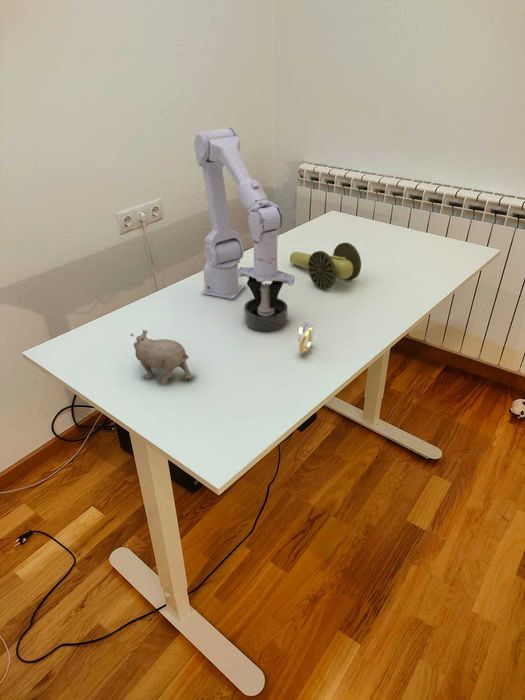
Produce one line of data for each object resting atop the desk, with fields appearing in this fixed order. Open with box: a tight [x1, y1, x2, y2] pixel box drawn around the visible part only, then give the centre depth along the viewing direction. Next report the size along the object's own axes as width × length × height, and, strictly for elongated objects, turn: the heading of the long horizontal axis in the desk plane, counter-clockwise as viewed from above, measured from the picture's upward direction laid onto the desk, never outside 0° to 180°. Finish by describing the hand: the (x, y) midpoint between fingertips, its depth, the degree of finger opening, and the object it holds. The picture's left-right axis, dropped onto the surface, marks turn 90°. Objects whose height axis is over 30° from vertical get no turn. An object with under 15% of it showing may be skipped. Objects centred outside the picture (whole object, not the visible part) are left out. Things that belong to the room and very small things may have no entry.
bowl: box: [243, 297, 289, 332], centre depth 131 cm, size 11×11×4 cm
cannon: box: [289, 242, 362, 291], centre depth 151 cm, size 25×12×11 cm, turn 37°
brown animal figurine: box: [130, 329, 193, 385], centre depth 111 cm, size 8×14×15 cm
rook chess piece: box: [258, 283, 274, 317], centre depth 129 cm, size 4×4×8 cm
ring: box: [297, 321, 315, 355], centre depth 118 cm, size 7×3×8 cm, turn 148°
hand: (265, 305), depth 130 cm, fingers closed on rook chess piece, 3 cm apart
